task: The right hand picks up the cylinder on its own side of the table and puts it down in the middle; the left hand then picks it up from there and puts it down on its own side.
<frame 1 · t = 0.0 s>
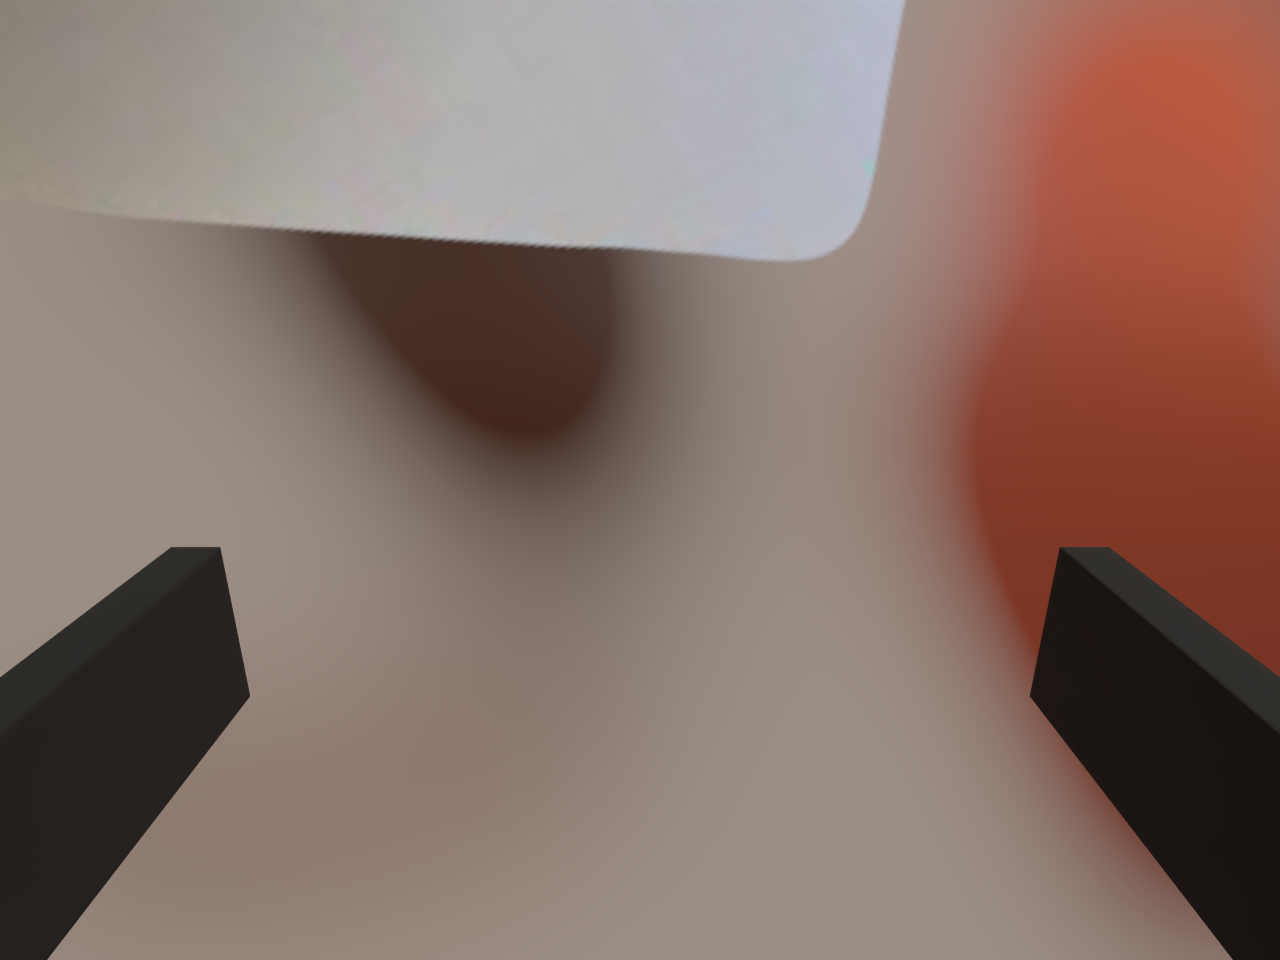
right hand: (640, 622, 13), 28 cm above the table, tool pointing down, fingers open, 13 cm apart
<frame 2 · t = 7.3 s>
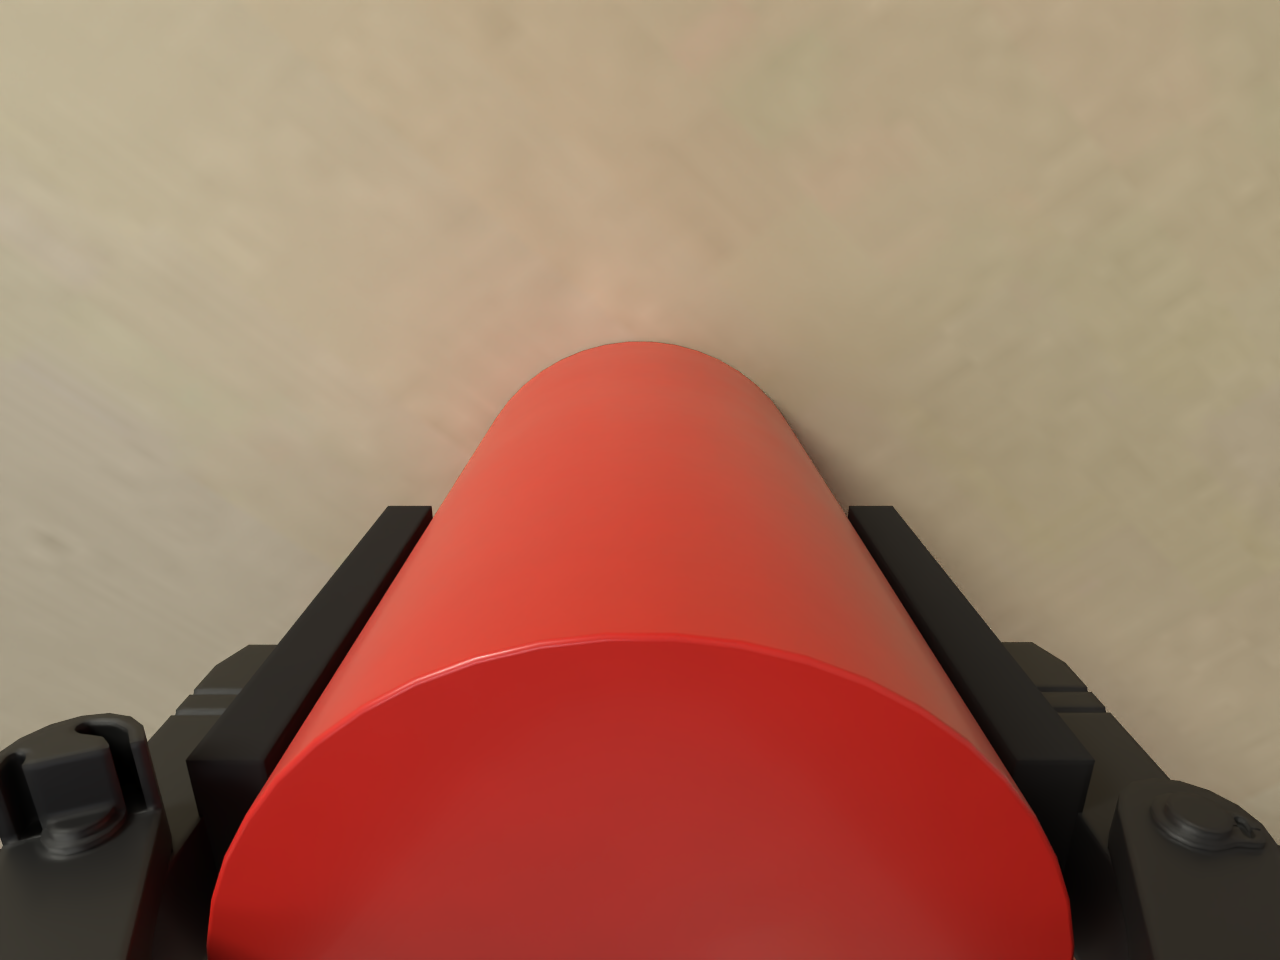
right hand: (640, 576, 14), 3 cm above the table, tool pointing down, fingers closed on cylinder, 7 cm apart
cylinder: (640, 507, 17), on the table, touching right hand
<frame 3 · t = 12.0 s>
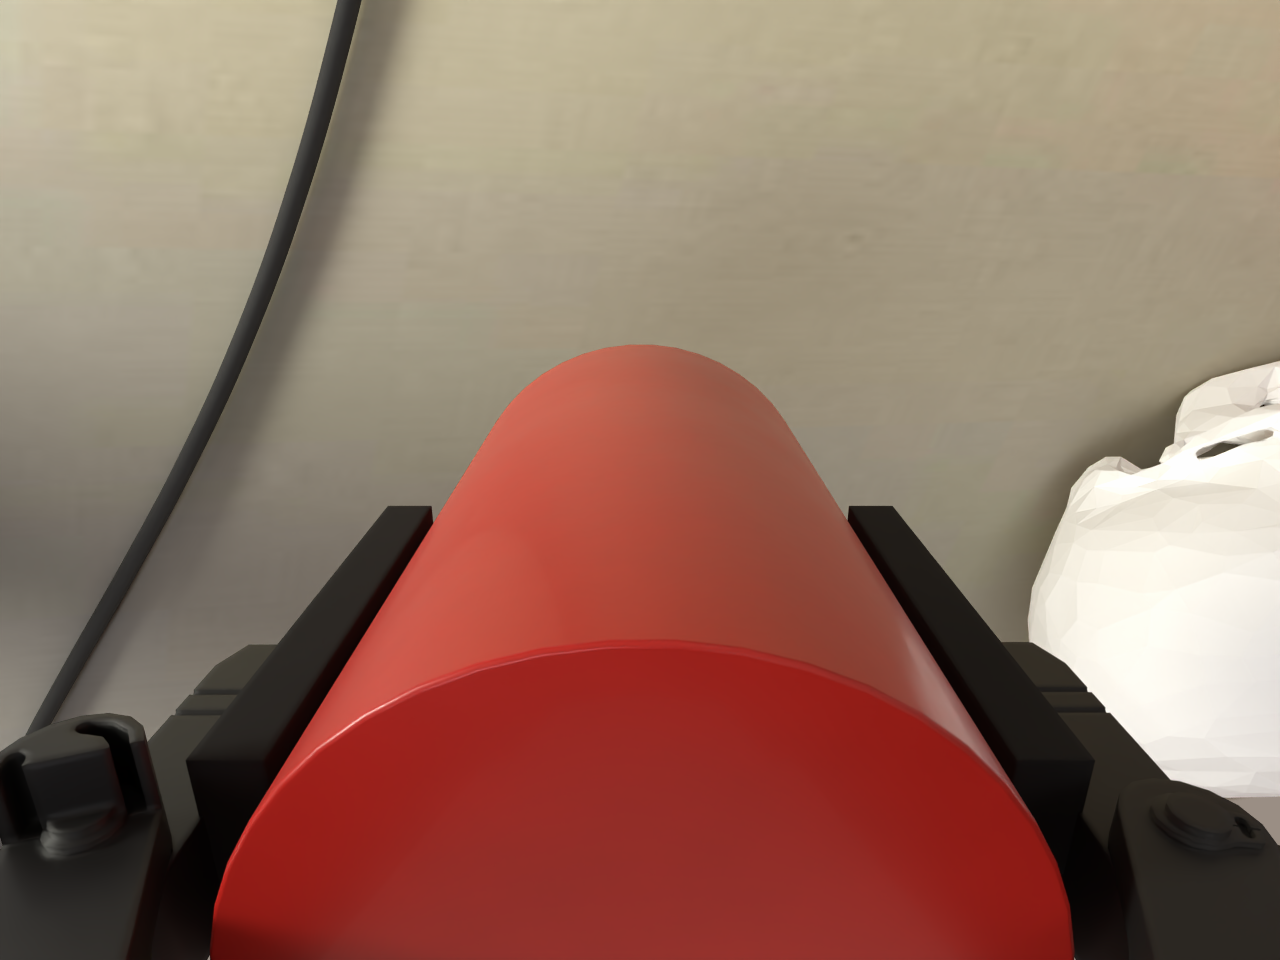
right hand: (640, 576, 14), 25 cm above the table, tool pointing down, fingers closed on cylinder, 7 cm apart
cylinder: (640, 509, 17), point 22 cm above the table, touching right hand
skull: (1169, 502, 41), on the table
when the right hand's fingers open (5 cm above the table, at t = 16.8 s): cylinder drops 1 cm, on the table.
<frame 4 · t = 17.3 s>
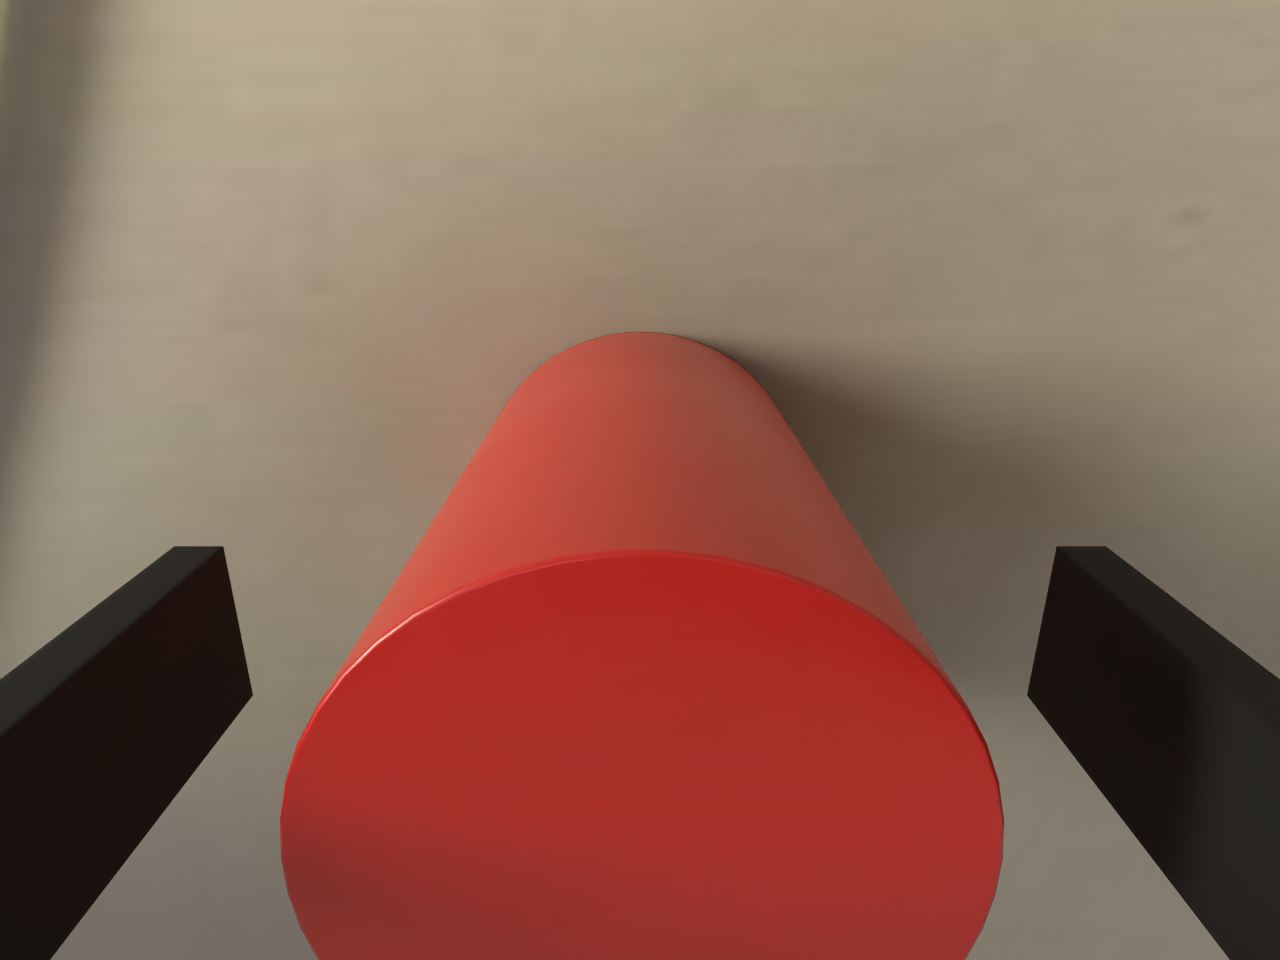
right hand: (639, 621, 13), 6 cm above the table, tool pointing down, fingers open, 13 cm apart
cylinder: (640, 486, 19), on the table
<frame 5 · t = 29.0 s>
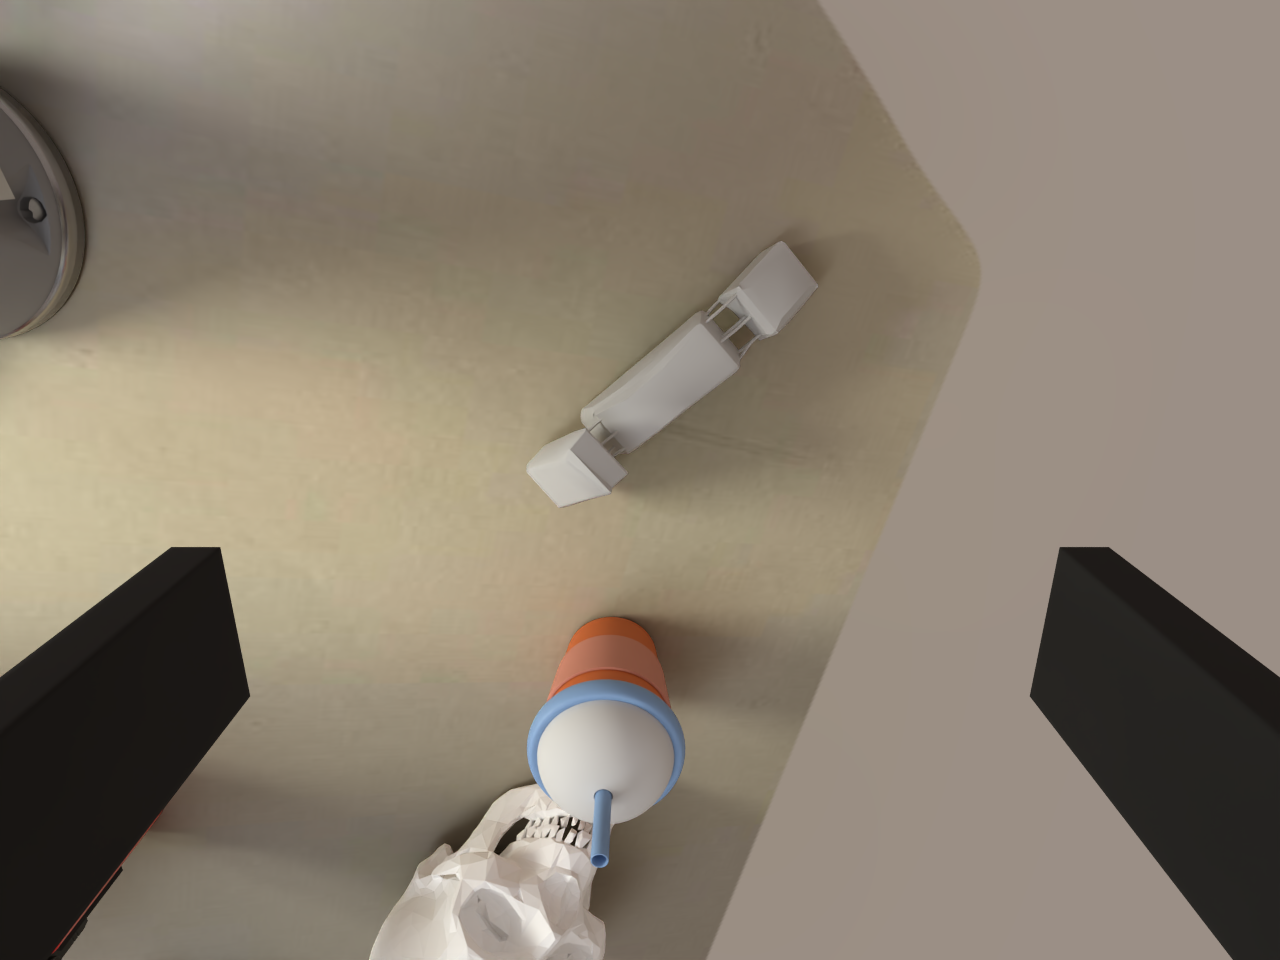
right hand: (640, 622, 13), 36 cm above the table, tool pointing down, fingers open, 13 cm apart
cup with straw: (612, 652, 55), on the table
skull: (516, 854, 61), on the table
white segmented block model: (664, 374, 48), on the table
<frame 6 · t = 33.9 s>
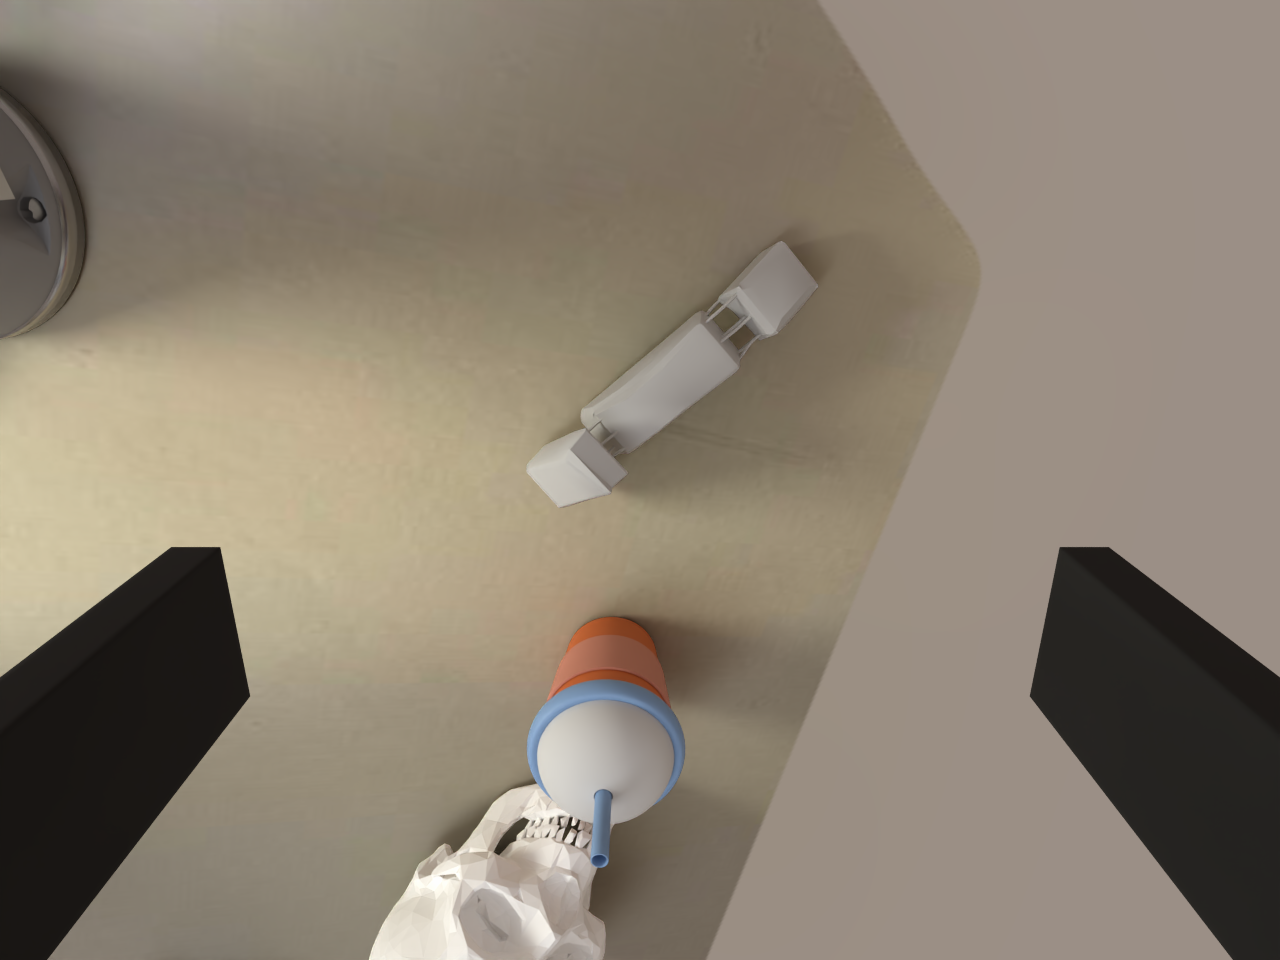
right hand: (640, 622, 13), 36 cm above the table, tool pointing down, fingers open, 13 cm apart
cup with straw: (612, 652, 55), on the table
skull: (516, 854, 61), on the table
white segmented block model: (664, 374, 48), on the table
when the left hand's fingers open (5 cm above the table, at t = 39.0 s): cylinder drops 1 cm, on the table.
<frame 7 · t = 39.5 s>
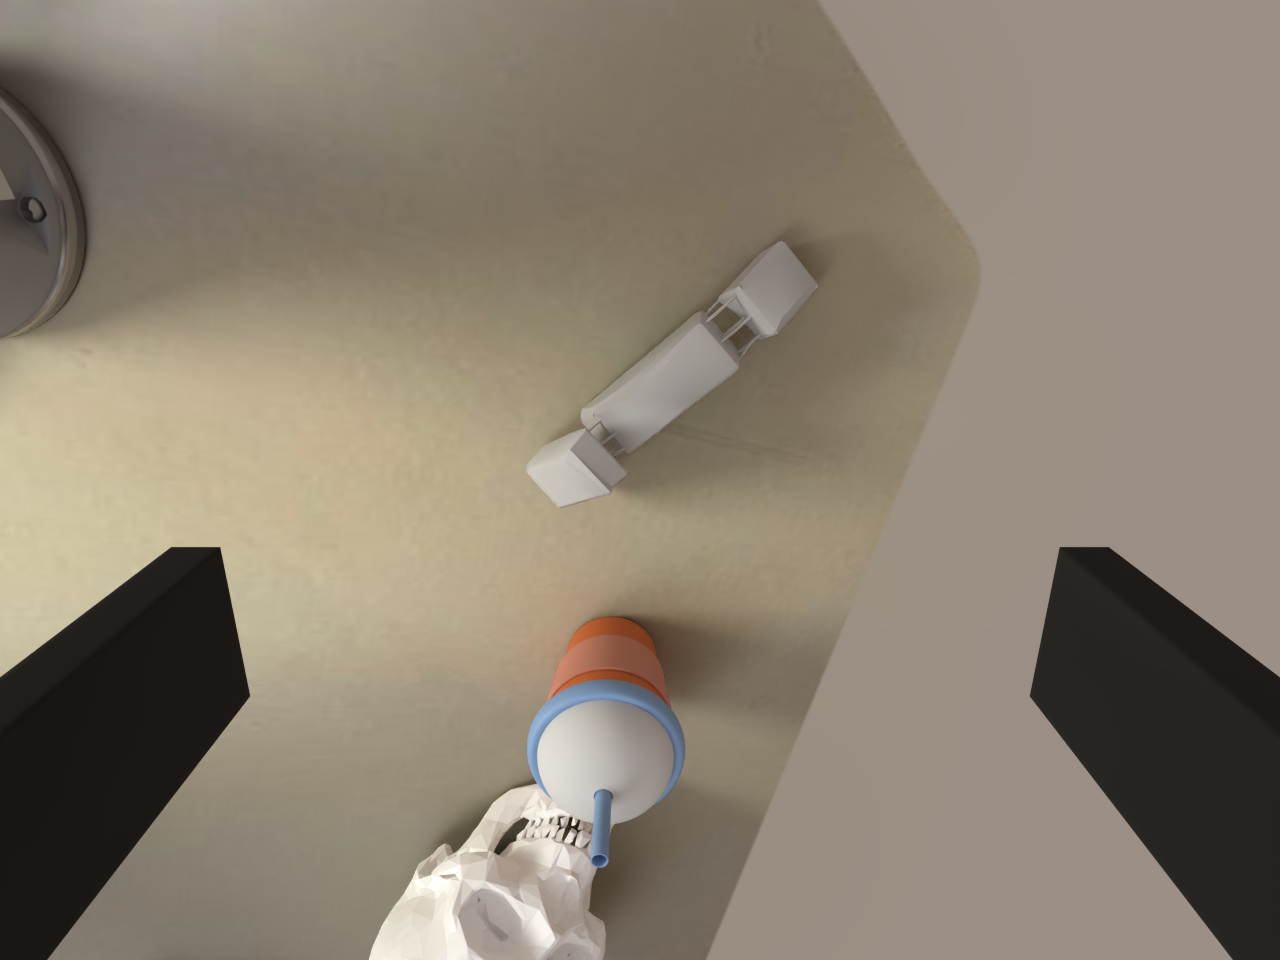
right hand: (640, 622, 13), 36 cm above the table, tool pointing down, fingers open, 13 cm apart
cup with straw: (612, 652, 55), on the table
skull: (516, 854, 61), on the table
white segmented block model: (664, 374, 48), on the table
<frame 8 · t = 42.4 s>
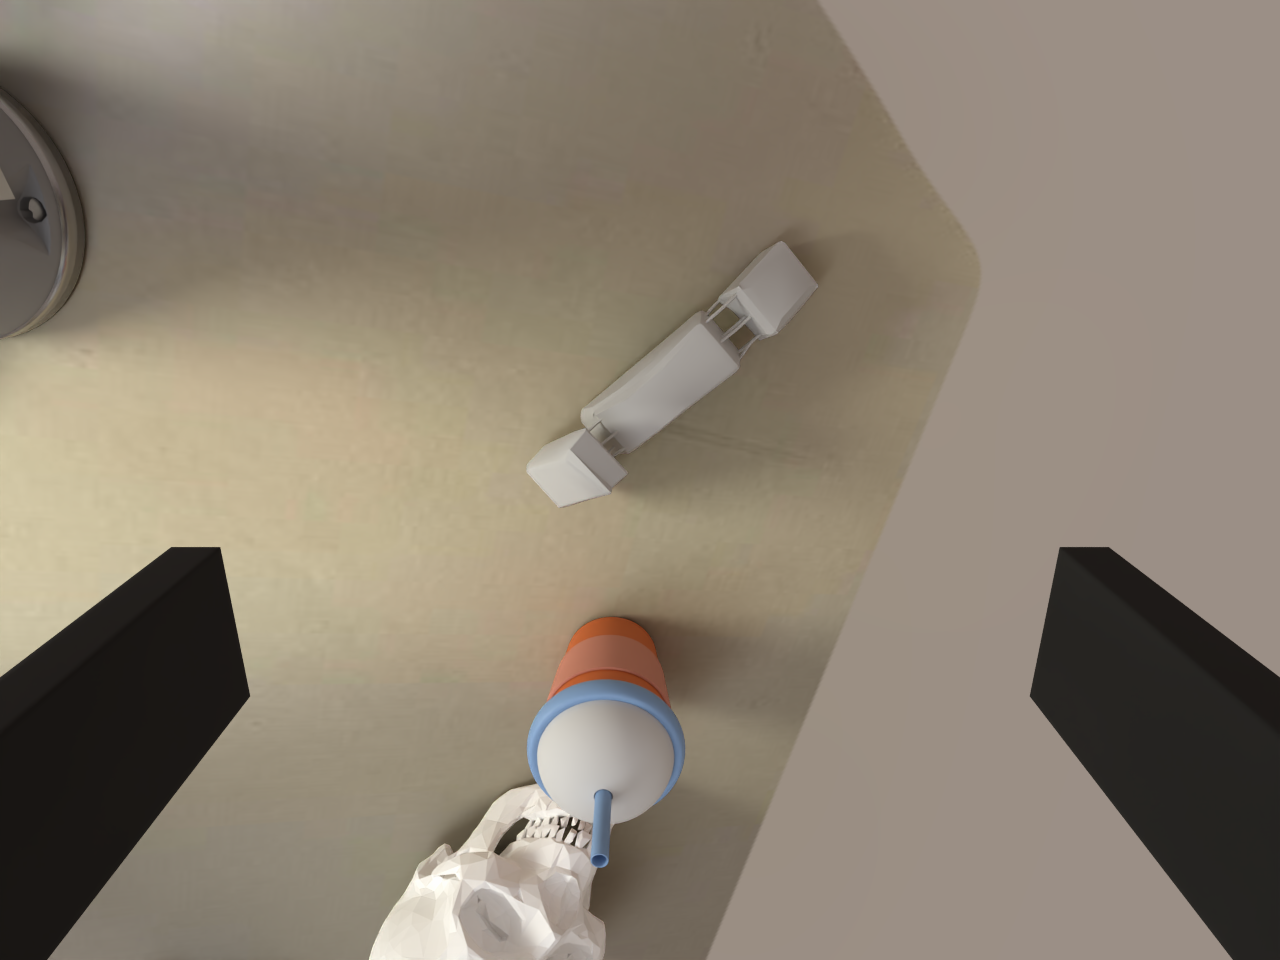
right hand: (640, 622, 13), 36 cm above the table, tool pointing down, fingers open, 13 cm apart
cup with straw: (612, 652, 55), on the table
skull: (516, 854, 61), on the table
white segmented block model: (664, 374, 48), on the table
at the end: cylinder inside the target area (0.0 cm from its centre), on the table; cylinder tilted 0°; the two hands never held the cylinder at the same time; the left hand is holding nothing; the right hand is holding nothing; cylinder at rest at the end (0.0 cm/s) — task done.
